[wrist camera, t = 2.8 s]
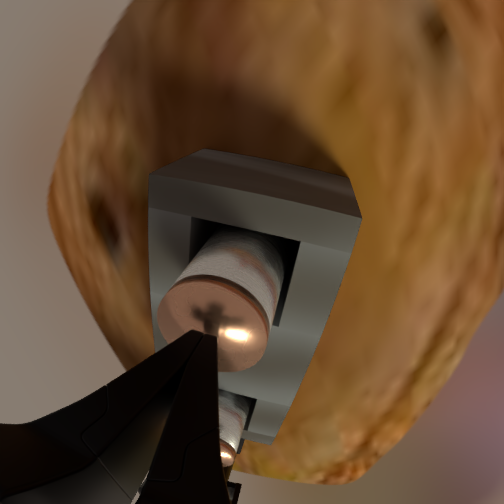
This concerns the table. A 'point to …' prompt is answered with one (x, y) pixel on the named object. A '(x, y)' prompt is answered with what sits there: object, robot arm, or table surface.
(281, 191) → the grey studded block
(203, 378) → the robot arm
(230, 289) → the front peg
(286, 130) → the table surface
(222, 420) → the rear peg
